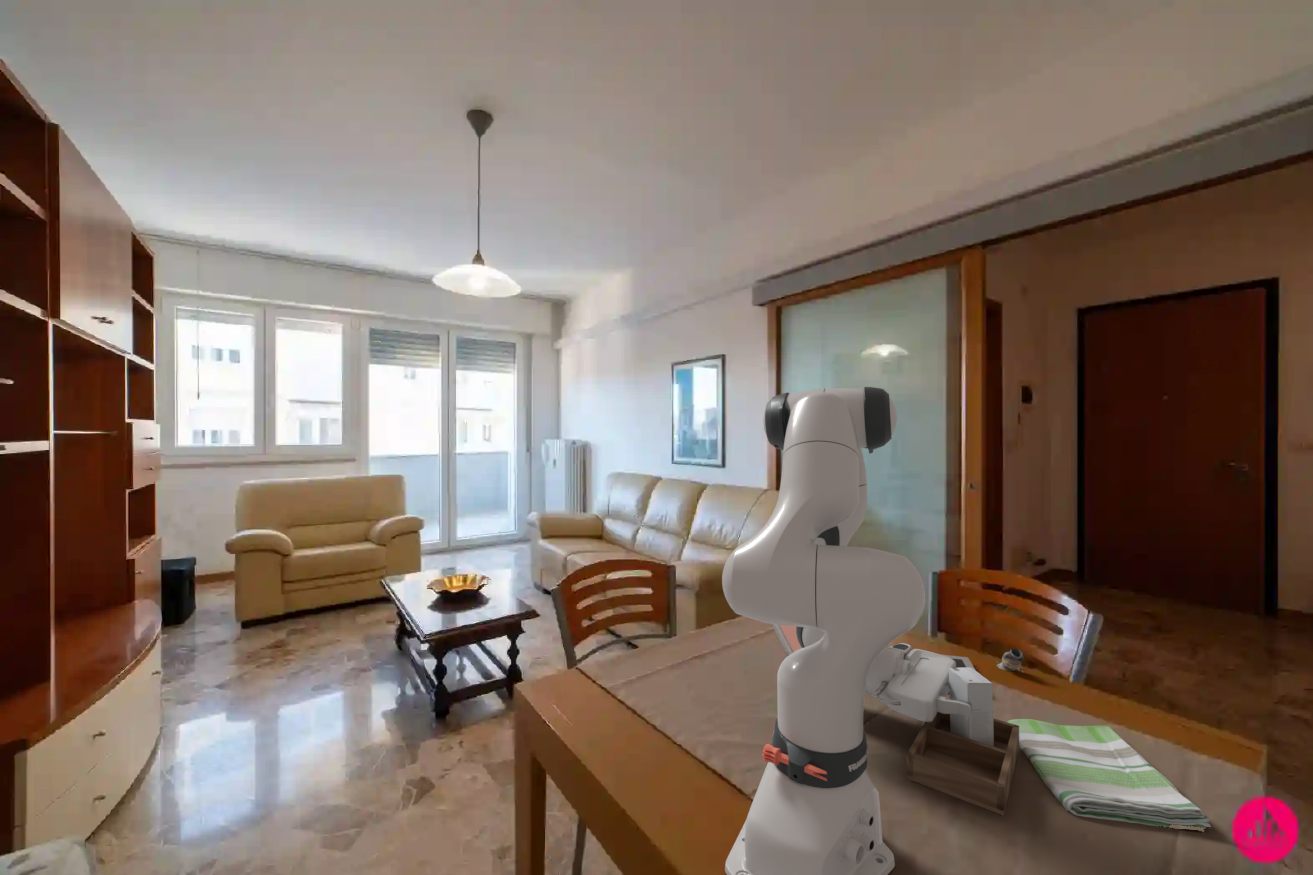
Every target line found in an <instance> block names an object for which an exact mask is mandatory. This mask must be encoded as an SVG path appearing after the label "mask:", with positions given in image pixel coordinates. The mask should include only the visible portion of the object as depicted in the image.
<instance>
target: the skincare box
mask: <svg viewBox="0 0 1313 875" xmlns="http://www.w3.org/2000/svg"><path fill="white" fill-rule="evenodd" d="M975 670H976V669H975ZM975 670H974V669H973V668H970V667H963V668H949V693H948V694H949V700H956V701H959V699H961V700H964V701H968V702H970V703H971V704H972V712H971V715H970V716H965V715H961V714H950V732H951V733H952V734H955V735H958V736H961V737H965V738H968V739H971V740H974V741H977V742H980V743H984V744H987V745H990V746H993V747H994V730H993V718H994V701H993V700H994V699H993V698H994V696H993V683H992V682H991V681H989V679H987V678H986V677H985V676H983V675H982V674H981V673H979V672H978V671H977V670H976V671H975Z"/></svg>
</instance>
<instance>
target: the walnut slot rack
mask: <svg viewBox="0 0 1313 875" xmlns="http://www.w3.org/2000/svg"><path fill="white" fill-rule="evenodd" d="M993 730H994V747H993V746H990V745H987V744H984V743H980V742H977V741H974V740H971V739H968V738H965V737H961V736H958V735H955V734H952V733H951V732H950V714H944V713H940V712H937V714H936V716H935V718H934V719H933V721H932V722H923V725H922V727H921V729H920V730H919V732H918V733H917V735H916V737H915V739H914V740H913V742H912V744H911V746H910V748H909V749H908V751H907V753H906V756H907V757H906V759H907V760H906V764H907V770H906V771H907V774H906V776H907V777H906V778H907V780H909V781H912V782H914V783H918V784H919V785H922V786H925V787H928V788H930V789H933V790H935V791H938V792H940V793H943V794H946V795H948V796H950V797H953V798H956V799H959V800H962V801H964V802H967V803H970V804H972V805H975V806H977V807H980V808H982V809H985V810H988V811H991V812H992V813H995V814H997V815H1000V816H1005V813H1006V807H1007V804H1008V800H1009V795H1010V791H1011V786H1012V782H1013V778H1014V774H1015V769H1016V766H1017V761H1018V757H1019V754H1020V753H1019V752H1020V746H1019V726H1018V725H1015V724H1011V723H1008V722H1007V721H1004V720H1000V719H996V718H994V717H993Z"/></svg>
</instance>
